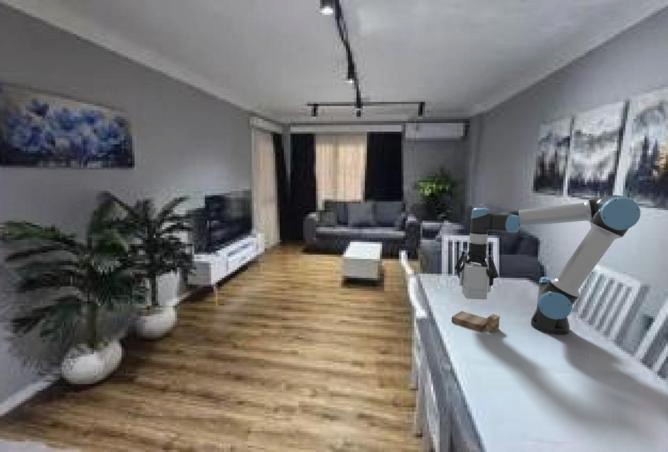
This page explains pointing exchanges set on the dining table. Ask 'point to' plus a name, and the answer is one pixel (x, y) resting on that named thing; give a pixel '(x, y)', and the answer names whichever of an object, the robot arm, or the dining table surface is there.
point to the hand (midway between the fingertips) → (474, 288)
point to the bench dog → (492, 323)
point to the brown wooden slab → (470, 320)
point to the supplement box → (474, 281)
